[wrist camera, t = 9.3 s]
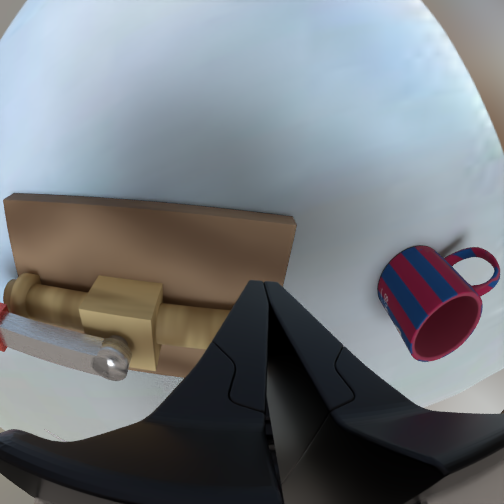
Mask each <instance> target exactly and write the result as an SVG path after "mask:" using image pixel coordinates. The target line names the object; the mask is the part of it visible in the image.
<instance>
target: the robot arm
mask: <svg viewBox="0 0 504 504" xmlns="http://www.w3.org/2000/svg"><path fill="white" fill-rule="evenodd" d="M0 473H1V474H2V475H3V476H5V477H6V478H7V479H9V480H10V481H12V482H13V483H14V484H15V485H17V486H18V487H19V488H21V489H22V490H24V491H25V492H27V493H28V494H29V495H31V496H32V497H34V498H35V500H34V504H504V414H472V413H452V412H439V411H431V410H427V409H425V408H422V407H420V406H418V405H416V404H415V403H413V402H412V401H410V400H409V399H408V398H406V397H405V396H404V395H402V394H401V393H400V392H398V391H397V390H396V389H394V388H393V387H392V386H391V385H389V384H388V383H387V382H385V381H384V380H383V379H381V378H380V377H379V376H378V375H376V374H375V373H374V372H373V371H372V370H370V369H369V368H368V367H367V366H365V365H364V364H363V363H362V362H361V361H360V360H359V359H358V358H357V357H355V356H354V355H353V354H352V353H351V352H350V351H349V350H348V349H347V348H346V347H343V344H342V343H341V342H340V341H338V340H337V339H336V338H335V337H334V336H333V335H332V334H331V333H330V332H329V331H328V330H327V329H326V328H325V327H324V326H323V325H322V324H321V323H320V322H319V321H318V320H317V319H316V318H315V317H313V316H312V315H311V314H310V313H309V312H308V311H307V310H306V309H305V308H304V307H303V306H302V305H301V304H300V303H299V302H298V301H297V300H296V299H295V298H294V297H293V296H292V295H291V294H290V293H289V292H287V291H286V290H285V289H284V288H283V287H282V286H281V285H280V284H279V283H278V282H273V281H265V282H264V283H263V281H259V280H249V281H248V283H247V285H246V286H245V288H244V289H243V291H242V293H241V294H240V296H239V298H238V299H237V301H236V303H235V304H234V306H233V307H232V309H231V311H230V312H229V314H228V316H227V317H226V319H225V320H224V322H223V324H222V325H221V327H220V329H219V330H218V332H217V333H216V335H215V337H214V338H213V340H212V342H211V343H210V344H209V346H208V348H207V349H206V351H205V352H204V354H203V355H202V357H201V358H200V360H199V361H198V363H197V364H196V365H195V366H194V368H193V369H192V370H191V371H190V372H189V374H188V375H187V376H186V377H185V378H184V379H183V380H182V382H181V383H180V384H179V385H178V386H177V387H176V388H175V389H174V390H173V391H172V393H171V394H170V395H169V396H168V397H167V398H166V399H165V400H164V401H163V402H162V403H161V404H160V406H159V407H158V408H157V409H156V410H155V411H154V412H153V413H151V414H150V415H149V416H148V417H146V418H145V419H143V420H141V421H139V422H137V423H134V424H131V425H128V426H125V427H122V428H119V429H116V430H113V431H110V432H107V433H104V434H101V435H97V436H94V437H90V438H87V439H84V440H79V441H73V442H59V441H51V440H47V439H44V438H41V437H38V436H36V435H33V434H30V433H28V432H25V431H22V430H17V429H11V430H7V431H5V432H2V433H0Z"/></svg>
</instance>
